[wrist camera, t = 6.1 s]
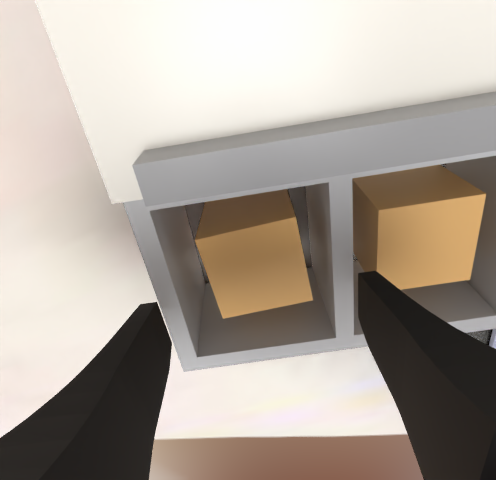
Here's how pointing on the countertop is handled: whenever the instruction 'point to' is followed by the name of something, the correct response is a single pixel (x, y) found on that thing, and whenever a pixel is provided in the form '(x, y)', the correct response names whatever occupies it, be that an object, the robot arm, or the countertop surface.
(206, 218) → the light orange rectangular block
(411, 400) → the robot arm
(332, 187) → the housing
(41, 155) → the countertop surface
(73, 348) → the countertop surface
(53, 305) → the countertop surface
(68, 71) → the lid
